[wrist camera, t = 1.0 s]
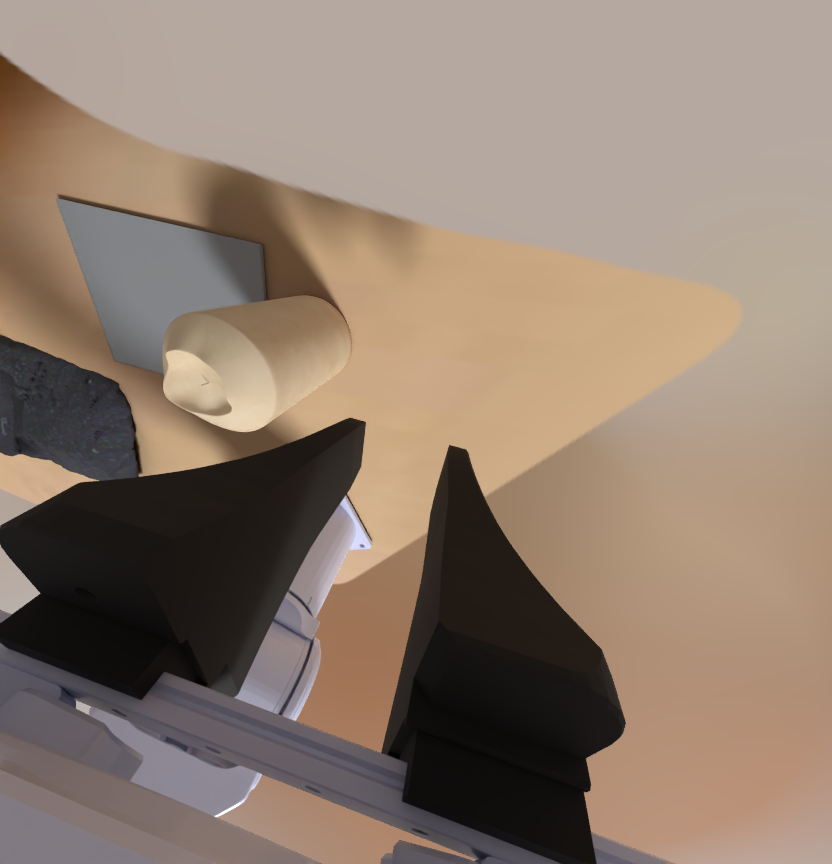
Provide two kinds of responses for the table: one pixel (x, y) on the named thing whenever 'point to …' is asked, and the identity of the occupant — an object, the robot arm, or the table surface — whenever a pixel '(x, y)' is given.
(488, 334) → the table surface
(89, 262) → the slate mat
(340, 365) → the candle
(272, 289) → the table surface
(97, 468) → the dark slate chunk
